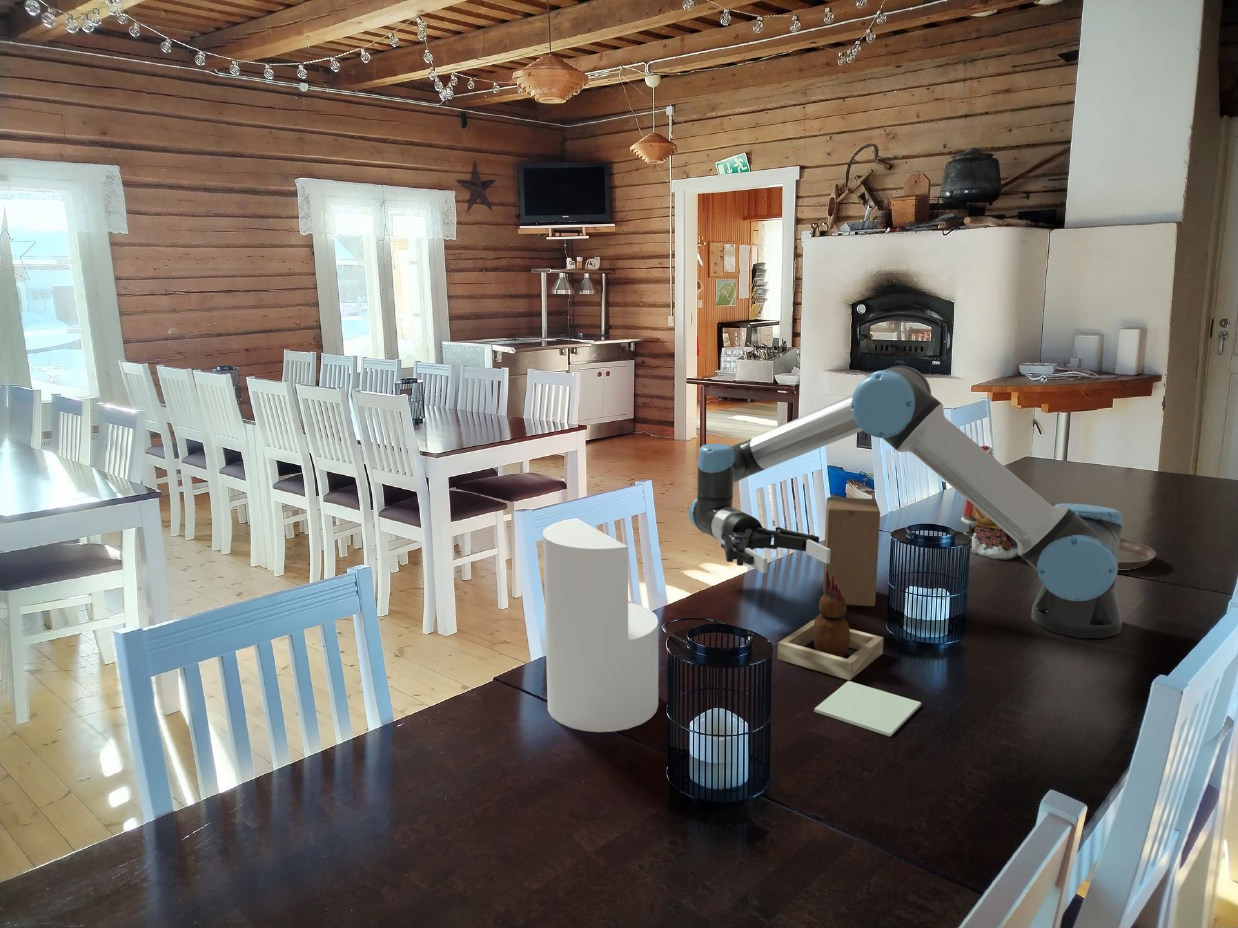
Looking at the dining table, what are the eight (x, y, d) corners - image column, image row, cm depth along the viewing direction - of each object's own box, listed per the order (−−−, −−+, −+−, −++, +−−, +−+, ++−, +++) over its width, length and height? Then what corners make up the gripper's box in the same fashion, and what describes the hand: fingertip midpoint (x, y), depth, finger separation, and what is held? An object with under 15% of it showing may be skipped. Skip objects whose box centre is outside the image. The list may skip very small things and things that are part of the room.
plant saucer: (1056, 568, 198) (1058, 554, 198) (1050, 543, 217) (1051, 530, 216) (1162, 579, 191) (1163, 565, 190) (1145, 552, 210) (1147, 539, 209)
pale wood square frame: (882, 653, 154) (883, 637, 154) (849, 680, 144) (850, 663, 143) (812, 634, 162) (813, 619, 162) (777, 658, 152) (777, 642, 152)
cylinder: (575, 742, 125) (571, 555, 120) (530, 693, 140) (525, 525, 135) (679, 714, 133) (680, 537, 127) (625, 670, 148) (624, 510, 142)
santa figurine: (1025, 562, 202) (1033, 456, 197) (959, 557, 206) (966, 453, 202) (1017, 543, 218) (1025, 444, 213) (957, 538, 222) (963, 441, 217)
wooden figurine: (808, 648, 156) (811, 568, 153) (839, 647, 157) (843, 567, 154) (820, 665, 150) (823, 581, 147) (853, 663, 150) (857, 580, 147)
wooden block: (875, 607, 176) (880, 510, 171) (823, 604, 178) (828, 508, 173) (871, 590, 185) (876, 498, 181) (822, 587, 187) (826, 496, 183)
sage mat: (920, 705, 135) (921, 702, 135) (890, 736, 126) (890, 733, 126) (848, 683, 143) (848, 680, 143) (814, 711, 134) (814, 708, 134)
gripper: (788, 540, 184) (852, 571, 165) (682, 554, 175) (737, 589, 155) (790, 506, 182) (854, 533, 163) (683, 518, 173) (738, 549, 154)
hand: (797, 561), depth 159 cm, fingers open, 13 cm apart
